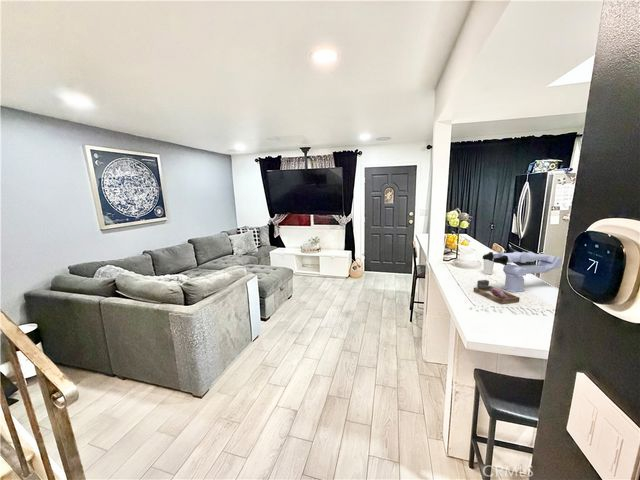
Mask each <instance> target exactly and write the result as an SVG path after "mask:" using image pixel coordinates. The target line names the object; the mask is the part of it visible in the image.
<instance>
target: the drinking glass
mask: <svg viewBox="0 0 640 480" xmlns="http://www.w3.org/2000/svg"><path fill="white" fill-rule="evenodd" d="M488 253H489V252H486V253H484V254H483V255H486V254H488ZM493 260H494V259H493ZM494 265H495V262H493V261H489V260H485V259H483V274H485V275H492V274H493V271H494V270H493V269H494Z"/></svg>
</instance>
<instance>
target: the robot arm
mask: <svg viewBox="0 0 640 480" xmlns="http://www.w3.org/2000/svg"><path fill="white" fill-rule="evenodd" d="M487 253H488V254H486V255H484V254H483V255H482V259H483V260H484V259H485V260H489V261H493V262H494V264H501V265H503V268H502V271H503V272H504V275H505V280H504V286H501V287H500V288H501V289H502V290H506V291H507V292H508V291H509V292H511V293H516V292H518V293H519V292H523V291H526V290H525V289H524V287H525V286H524V285H525V278H524V276H526V275H530V274H531V275H532V274H546V273H549V272H551V271H552V270H555V269H560V267H561V266H562V265H563V264H562V259H563V258H562V257H561V256H554V255H550V254H547V253H538V254H536V253H535V252H533V251H528V252H526V251H522V252H519V251H513V252H507V253H505V252H504V251H499V253H494V252H493V251H489V252H487ZM493 259H494V260H493ZM535 261H538V262H537V264H530V265H529V264H528V265H517V264H512V263H522V264H526V263H527V262H528V263H529V262H530V263H531V262H532V263H533V262H535Z"/></svg>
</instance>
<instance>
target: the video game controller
mask: <svg viewBox="0 0 640 480" xmlns="http://www.w3.org/2000/svg"><path fill="white" fill-rule="evenodd" d="M496 288H497V287H495V288H492V289H490V290H489V292H490V293H489V294H491V295H494V296H496V297H498V298H500V299H505V298H509V297H508V296H506V295H505V293H503V292H502V291H503V290H502V291H501V289H500V288H497V289H496Z"/></svg>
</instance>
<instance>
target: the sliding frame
mask: <svg viewBox="0 0 640 480" xmlns="http://www.w3.org/2000/svg"><path fill="white" fill-rule="evenodd" d="M492 288H496V289H498V288H497V287H494V286H492V285H490V280H488V279H481V280H477V283H476V286H475V287H473V292H474V293H476V294H478V295H480V296H482V297H485V298H486V299H489V300H491V301H493V302H496V303H497V304H499V305H504V304H505V305H507V304H513V303H519V302H520V297H518V296H516V295H513V294H512V293H509V292H508V291H507V292H506V291H504V290H503V289H502V290H501V289H500V290H501V291H502V292H503V293H505V295H506V296H508V297H509V298H505V299H500V298H498V297H496V296H494V295H493V294H492V293H488V292H486V291H490V289H492Z"/></svg>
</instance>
